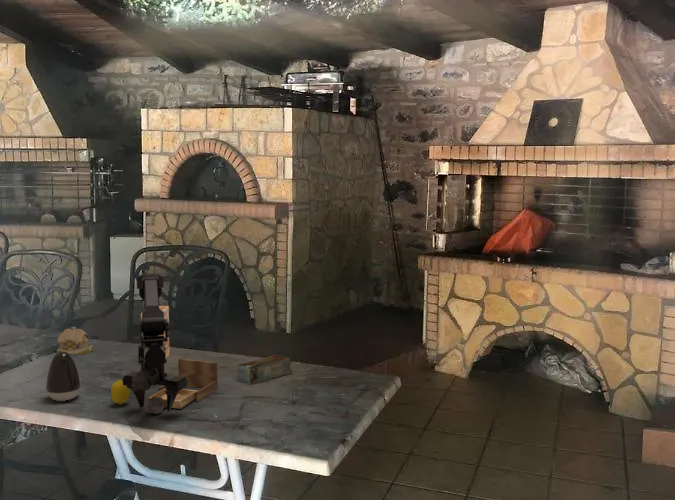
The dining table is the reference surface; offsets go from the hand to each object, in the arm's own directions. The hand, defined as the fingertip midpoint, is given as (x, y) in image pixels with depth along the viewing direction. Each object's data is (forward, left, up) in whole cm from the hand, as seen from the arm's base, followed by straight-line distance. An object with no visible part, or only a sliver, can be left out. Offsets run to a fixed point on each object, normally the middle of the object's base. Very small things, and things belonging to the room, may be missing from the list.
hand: (155, 409), depth 199 cm
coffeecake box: (-31, +49, -1) cm, 58 cm away
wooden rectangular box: (+16, +43, -2) cm, 46 cm away
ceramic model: (-68, +49, -2) cm, 84 cm away
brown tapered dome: (-34, +2, -1) cm, 34 cm away
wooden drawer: (0, +7, -1) cm, 7 cm away
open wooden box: (0, +19, -1) cm, 19 cm away
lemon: (-14, +3, -1) cm, 14 cm away
